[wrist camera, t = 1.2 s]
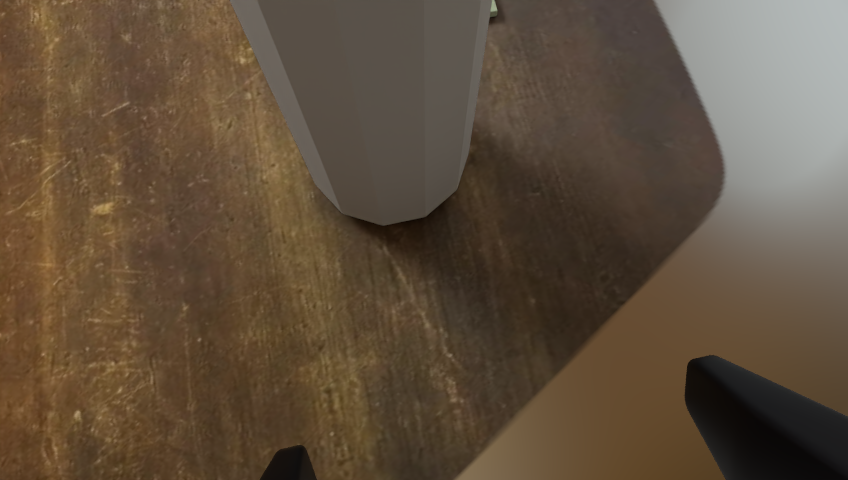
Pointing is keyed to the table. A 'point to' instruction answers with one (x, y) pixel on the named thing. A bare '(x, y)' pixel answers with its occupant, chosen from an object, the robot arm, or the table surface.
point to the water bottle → (375, 94)
